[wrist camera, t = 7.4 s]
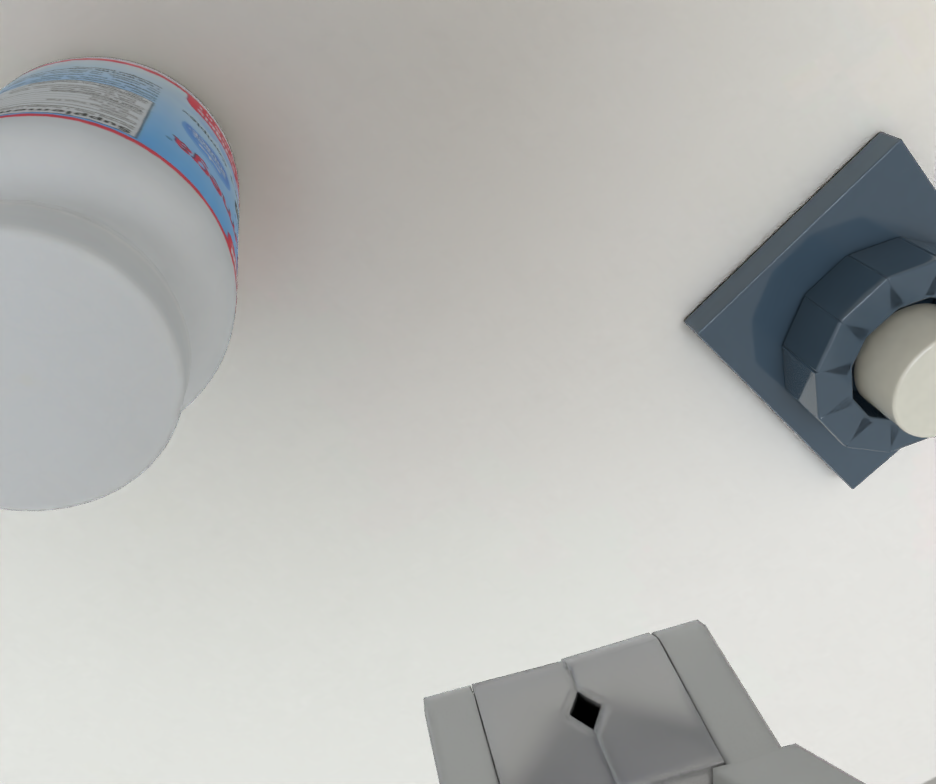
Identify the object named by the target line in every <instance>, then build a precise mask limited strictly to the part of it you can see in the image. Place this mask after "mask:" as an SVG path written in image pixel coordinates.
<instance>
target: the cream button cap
mask: <svg viewBox="0 0 936 784" xmlns="http://www.w3.org/2000/svg"><path fill="white" fill-rule="evenodd" d="M854 381H855V385H856V388H857V390H858V392H859V394H860V395H861V396H862V397H863V398H864V399H865V400H866V401H867V402H868V403H869V404H871V405H872V406H873V407H874V408H876V409H877V410H878V411H879V412H881V413H882V414H883V415H884V416H886V417H887V418H888V419H889V420H891V421H892V422H893V423H894V424H895V425H897V426H898V427H899V428H900V429H902V430H903V431H904V432H906V433H908V434H910V435H912V436H916V437H921V438H932V437H936V304H930V303H921V304H914V305H910V306H907V307H904V308H902V309H900V310H898V311H896V312H894V313H893V314H892V315H891V316H890V317H889V318H888V319H886V320H885V321H884V322H883V323H882V324H881V325H880V326H879V327H878V328H877V329H875V330H874V331H873V332H872V333H871V334H870V335H869V336H868V337H867V338H866V340H865V342H864V344H863V346H862V348H861V350H860V352H859V354H858V356H857V358H856V360H855V365H854Z"/></svg>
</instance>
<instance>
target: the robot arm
mask: <svg viewBox="0 0 936 784" xmlns="http://www.w3.org/2000/svg"><path fill="white" fill-rule="evenodd" d="M472 689H473V691H472ZM473 693H474V694H473ZM424 711H425V717H426V722H427V727H428V731H429V736H430V741H431V745H432V750H433V755H434V759H435V764H436V769H437V773H438V778H439V783H440V784H865V783H863V782H862V781H860V780H858V779H856V778H855V777H853V776H851V775H849V774H848V773H846V772H844V771H842V770H841V769H839V768H837V767H836V766H834V765H832V764H830V763H829V762H827V761H825V760H823V759H822V758H820V757H818V756H816V755H815V754H813V753H811V752H810V751H808V750H806V749H804V748H803V747H801V746H799V745H797V744H796V743H795V744H791V745H788V746H784V747H781V746H780V744H779V743H778V741H777V739H776V738H775V736H774V735H773V733H772V731H771V730H770V728H769V727H768V725H767V723H766V722H765V720H764V719H763V717H762V715H761V714H760V712H759V711H758V709H757V707H756V706H755V704H754V702H753V701H752V699H751V698H750V696H749V694H748V693H747V691H746V690H745V688H744V686H743V685H742V683H741V682H740V680H739V678H738V677H737V675H736V673H735V672H734V670H733V669H732V667H731V665H730V664H729V662H728V661H727V659H726V657H725V656H724V654H723V653H722V651H721V649H720V648H719V646H718V645H717V643H716V641H715V640H714V638H713V636H712V635H711V633H710V632H709V630H708V628H707V627H706V626H705V625H704V624H703V623H701V622H700V621H699V620H694V621H691V622H687V623H684V624H680V625H677V626H673V627H670V628H667V629H663V630H660V631H656V632H653V633H652V634H650V633H646V634H643V635H639V636H636V637H633V638H629V639H626V640H623V641H620V642H616V643H613V644H610V645H606V646H603V647H600V648H597V649H593V650H590V651H587V652H583V653H580V654H577V655H574V656H570V657H567V658H564V659H562V660H561V661H560V662H556V663H552V664H548V665H544V666H541V667H537V668H533V669H529V670H525V671H521V672H517V673H514V674H510V675H506V676H502V677H498V678H494V679H491V680H487V681H483V682H479V683H475V684H472V688H471V686H470V685H469V686H465V687H461V688H458V689H454V690H451V691H447V692H443V693H440V694H436V695H432V696H429V697H425V698H424Z"/></svg>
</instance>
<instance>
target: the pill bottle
mask: <svg viewBox="0 0 936 784" xmlns="http://www.w3.org/2000/svg"><path fill="white" fill-rule="evenodd" d="M238 228H239V183H238V173H237V168H236V164H235V161H234V157H233V154H232V151H231V148H230V145H229V143H228V141H227V139H226V137H225V135H224V133H223V131H222V129H221V128H220V126H219V124H218V123H217V121H216V120H215V118H214V117H213V116H212V115H211V113H210V112H209V111H208V109H207V108H206V107H205V106H204V105H203V104H202V103H201V102H200V100H199V99H197V98H196V97H195V96H194V95H193V94H192V93H191V92H190V91H189V90H187V89H186V88H185V87H183V86H182V85H181V84H179V83H178V82H176V81H175V80H173V79H172V78H170V77H169V76H167V75H165V74H163V73H161V72H159V71H157V70H155V69H152V68H149V67H147V66H144V65H141V64H138V63H134V62H130V61H126V60H122V59H114V58H106V57H83V58H70V59H64V60H59V61H55V62H51V63H48V64H45V65H42V66H39V67H37V68H35V69H32V70H31V71H29V72H27V73H25V74H23V75H21V76H20V77H18V78H17V79H15V80H14V81H12V82H11V83H9V84H8V85H7V86H5V87H4V88H3V89H2V90H0V509H6V510H16V511H44V510H54V509H63V508H68V507H73V506H77V505H81V504H85V503H88V502H91V501H94V500H97V499H99V498H102V497H105V496H107V495H109V494H111V493H113V492H115V491H117V490H119V489H121V488H122V487H124V486H125V485H127V484H128V483H130V482H131V481H133V480H134V479H136V478H137V477H138V476H140V475H141V474H142V473H143V472H144V471H145V470H146V469H147V468H148V467H149V466H150V465H151V464H152V463H153V462H154V461H155V460H156V458H157V457H158V456H159V455H160V454H161V452H162V451H163V450H164V448H165V447H166V445H167V443H168V442H169V440H170V438H171V436H172V434H173V432H174V430H175V428H176V426H177V423H178V420H179V417H180V414H181V411H182V410H184V409H185V408H186V407H187V406H188V405H189V404H190V403H191V402H192V401H193V400H194V399H195V398H196V397H197V396H198V395H199V394H200V393H201V392H202V391H203V389H204V388H205V387H206V385H207V384H208V383H209V382H210V380H211V379H212V377H213V376H214V374H215V373H216V371H217V369H218V367H219V365H220V363H221V362H222V359H223V357H224V355H225V352H226V350H227V347H228V344H229V341H230V337H231V334H232V330H233V324H234V318H235V311H236V303H237V268H238Z"/></svg>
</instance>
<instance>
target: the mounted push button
mask: <svg viewBox="0 0 936 784" xmlns="http://www.w3.org/2000/svg"><path fill="white" fill-rule="evenodd" d="M921 303H930V304H936V190H935V188H934V187H933V185H932V184H931V182H930V181H929V179H928V178H927V177H926V175H925V174H924V172H923V171H922V169H921V168H920V166H919V165H918V163H917V162H916V160H915V159H914V157H913V156H912V154H911V153H910V151H909V150H908V148H907V147H906V146H905V144H904V143H903V141H902V140H901V139H899V138H897V137H894V136H891V135H889V134H886V133H883V132H880V133H878V134H877V135H876V136H875V137H874V138H873V139H872V140H871V141H870V142H869V143H868V144H867V145H866V146H865V147H864V148H863V149H862V150H861V151H860V152H859V153H858V154H857V155H856V156H855V157H854V158H853V159H851V160H850V161H849V162H848V163H847V164H846V165H845V166H844V167H843V168H842V169H841V170H840V171H839V172H838V173H837V174H836V175H835V176H834V177H833V178H832V179H831V180H830V181H829V182H828V183H827V184H826V185H824V186H823V187H822V188H821V189H820V190H819V191H818V192H817V193H816V194H815V195H814V196H813V197H812V198H811V199H810V200H809V201H808V202H807V203H806V204H805V205H804V206H803V207H802V208H801V209H800V210H799V211H798V212H796V213H795V214H794V215H793V216H792V217H791V218H790V219H789V220H788V221H787V222H786V223H785V224H784V225H783V226H782V227H781V228H780V229H779V230H778V231H777V232H776V233H775V234H774V235H773V236H772V237H771V238H769V239H768V240H767V241H766V242H765V243H764V244H763V245H762V246H761V247H760V248H759V249H758V250H757V251H756V252H755V253H754V254H753V255H752V256H751V257H750V258H749V259H748V260H747V261H746V262H745V263H744V264H743V265H741V266H740V267H739V268H738V269H737V270H736V271H735V272H734V273H733V274H732V275H731V276H730V277H729V278H728V279H727V280H726V281H725V282H724V283H723V284H722V285H721V286H720V287H719V288H718V289H717V290H716V291H715V292H713V293H712V294H711V295H710V296H709V297H708V298H707V299H706V300H705V301H704V302H703V303H702V304H701V305H700V306H699V307H698V308H697V309H696V310H695V311H694V312H693V313H692V314H691V315H690V316H689V317H688V318H686V319H685V321H684V322H685V323H686V324H687V325H688V326H689V327H690V328H691V329H692V330H693V331H694V332H695V333H696V334H697V335H698V336H699V337H700V338H701V339H702V340H703V341H704V342H705V343H706V344H707V345H708V346H709V347H710V348H711V349H712V350H713V351H714V352H715V353H716V354H717V355H718V356H719V357H720V358H721V359H722V360H723V361H724V362H725V363H726V364H727V365H728V366H729V367H730V368H731V369H732V370H733V371H734V372H735V373H736V374H737V375H738V376H739V377H740V378H741V379H742V380H743V381H744V382H745V383H746V384H747V385H748V386H749V387H750V388H751V389H752V390H753V391H754V392H755V393H756V394H757V395H758V396H759V397H760V398H761V399H762V400H763V401H764V402H765V403H766V404H767V405H768V406H769V407H770V408H771V409H772V410H773V411H774V412H775V413H776V414H777V415H778V416H779V417H780V418H781V419H782V420H783V421H784V422H785V423H786V424H787V425H788V426H789V427H790V428H791V429H792V430H793V431H794V432H795V433H796V434H797V435H798V436H799V437H800V438H801V439H802V440H803V441H804V442H805V443H806V444H807V445H808V446H809V447H810V448H811V449H812V450H813V451H814V452H815V453H816V454H817V455H818V456H819V457H820V458H821V459H822V460H823V461H824V462H825V463H826V464H827V465H828V466H829V467H830V468H831V469H832V470H833V471H834V472H835V473H836V474H837V475H838V476H839V477H840V478H841V479H842V480H843V481H844V482H845V483H846V484H847V485H848V486H849V487H850V488H851V489H854V488H855V487H856V486H858V485H859V484H860V483H861V482H862V481H863V480H865V479H866V478H867V477H868V476H869V475H870V474H872V473H873V472H874V471H875V470H876V469H877V468H879V467H880V466H881V465H882V464H883V463H884V462H886V461H887V460H888V459H889V458H890V457H891V456H892V455H894V454H895V453H896V452H897V451H898V450H899V449H901V448H903V447H905V446H908V445H911V444H914V443H916V442H919V441H922V440H924V439H927V438H921V437H916V436H912V435H910V434H908V433H906V432H904V431H903V430H902V429H900V428H899V427H898V426H897V425H895V424H894V423H893V422H892V421H891V420H889V419H888V418H887V417H886V416H884V415H883V414H882V413H881V412H879V411H878V410H877V409H876V408H874V407H873V406H872V405H871V404H869V403H868V402H867V401H866V400H865V399H864V398H863V397H862V396H861V395H860V394H859V392H858V390H857V388H856V385H855V381H854V365H855V360H856V358H857V356H858V354H859V352H860V350H861V348H862V346H863V344H864V342H865V340H866V338H867V337H868V336H869V335H870V334H871V333H872V332H873V331H874V330H875V329H877V328H878V327H879V326H880V325H881V324H882V323H883V322H884V321H885V320H886V319H888V318H889V317H890V316H891V315H892V314H893V313H894V312H896V311H898V310H900V309H902V308H904V307H907V306H910V305H914V304H921Z"/></svg>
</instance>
